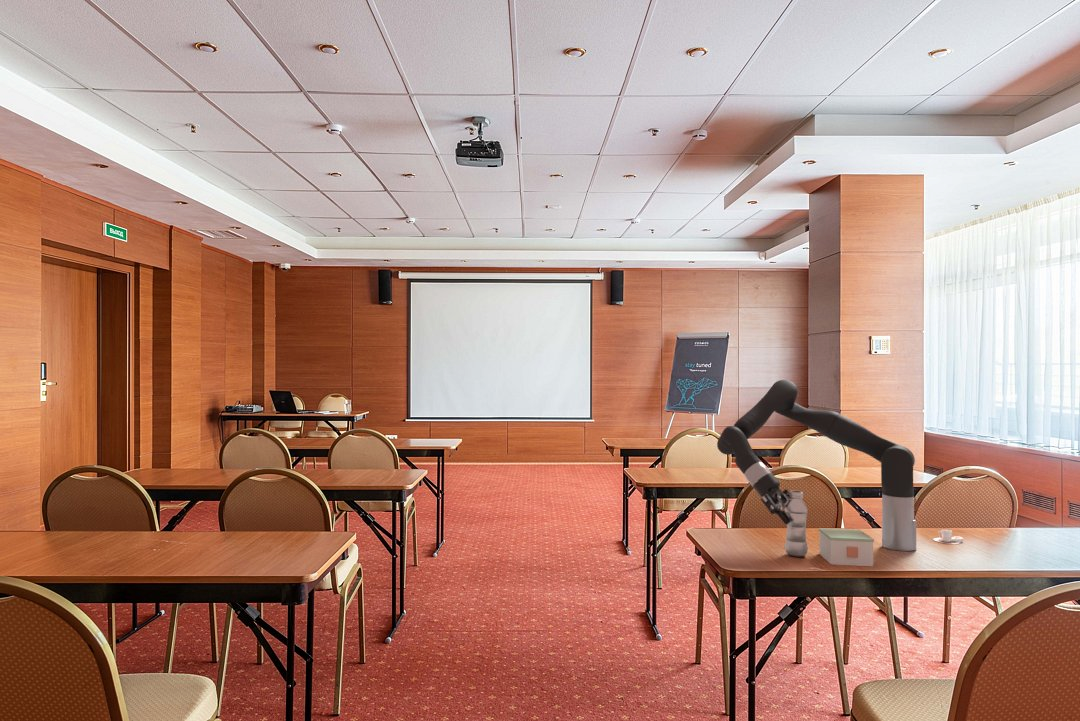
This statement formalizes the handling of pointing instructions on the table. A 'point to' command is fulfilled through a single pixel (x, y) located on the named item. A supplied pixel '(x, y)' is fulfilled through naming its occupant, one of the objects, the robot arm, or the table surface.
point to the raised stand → (846, 547)
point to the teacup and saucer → (948, 537)
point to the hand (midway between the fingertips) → (795, 520)
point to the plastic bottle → (796, 525)
